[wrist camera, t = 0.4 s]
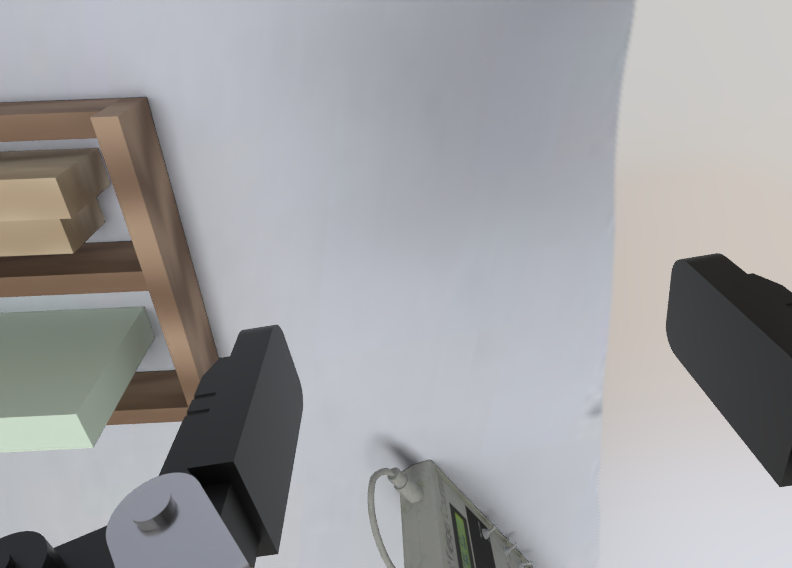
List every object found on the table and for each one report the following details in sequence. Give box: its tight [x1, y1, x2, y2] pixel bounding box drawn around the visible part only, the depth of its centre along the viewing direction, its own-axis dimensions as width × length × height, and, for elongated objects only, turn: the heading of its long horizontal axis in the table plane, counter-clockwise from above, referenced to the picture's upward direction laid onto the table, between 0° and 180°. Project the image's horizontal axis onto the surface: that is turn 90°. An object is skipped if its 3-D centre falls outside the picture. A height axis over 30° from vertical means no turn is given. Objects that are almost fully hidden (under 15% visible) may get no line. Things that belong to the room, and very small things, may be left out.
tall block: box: [0, 307, 155, 452], centre depth 29 cm, size 2×12×9 cm, turn 91°
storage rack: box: [0, 97, 219, 425], centre depth 29 cm, size 19×19×4 cm
